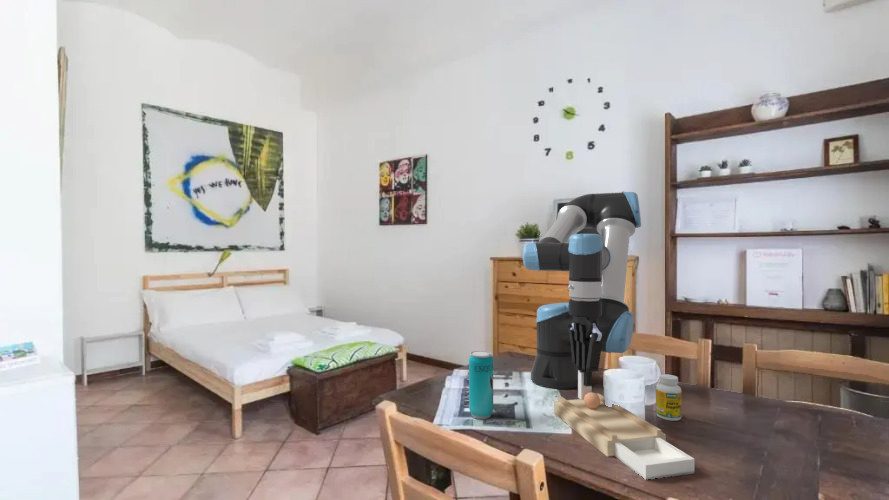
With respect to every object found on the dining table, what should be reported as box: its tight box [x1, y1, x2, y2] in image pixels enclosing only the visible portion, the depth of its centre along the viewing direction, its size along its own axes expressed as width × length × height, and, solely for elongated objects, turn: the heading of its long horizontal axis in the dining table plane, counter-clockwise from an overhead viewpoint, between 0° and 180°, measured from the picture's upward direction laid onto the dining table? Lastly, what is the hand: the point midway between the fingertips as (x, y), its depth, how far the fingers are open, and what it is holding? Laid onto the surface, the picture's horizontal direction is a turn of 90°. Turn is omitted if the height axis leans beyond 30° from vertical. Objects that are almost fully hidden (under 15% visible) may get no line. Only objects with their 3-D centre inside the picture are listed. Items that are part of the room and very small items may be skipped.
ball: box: [584, 392, 600, 409], centre depth 101 cm, size 4×4×4 cm
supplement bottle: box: [655, 373, 683, 422], centre depth 104 cm, size 5×5×10 cm
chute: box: [553, 392, 667, 457], centre depth 96 cm, size 22×13×4 cm, turn 13°
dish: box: [613, 437, 696, 481], centre depth 82 cm, size 10×10×3 cm
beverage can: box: [468, 350, 494, 420], centre depth 105 cm, size 6×6×15 cm
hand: (584, 398), depth 104 cm, fingers closed
